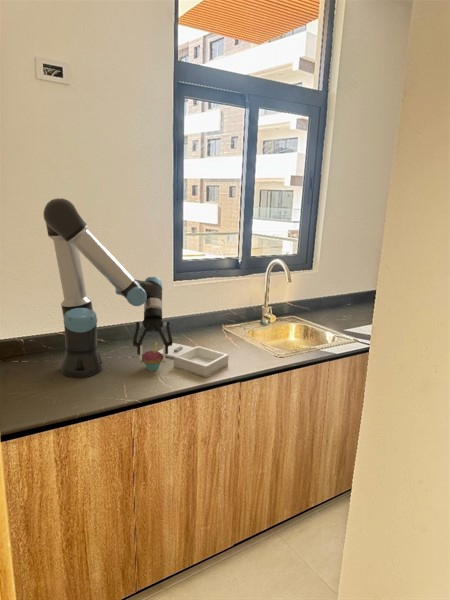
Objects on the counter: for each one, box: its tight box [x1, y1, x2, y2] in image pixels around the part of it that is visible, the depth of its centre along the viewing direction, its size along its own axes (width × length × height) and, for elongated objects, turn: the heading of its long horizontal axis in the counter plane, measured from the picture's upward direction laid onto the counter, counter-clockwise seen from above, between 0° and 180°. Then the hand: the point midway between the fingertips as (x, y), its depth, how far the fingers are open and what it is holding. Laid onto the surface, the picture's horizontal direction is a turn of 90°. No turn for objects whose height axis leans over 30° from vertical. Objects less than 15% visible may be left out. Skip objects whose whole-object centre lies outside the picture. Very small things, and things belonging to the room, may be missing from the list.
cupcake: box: [142, 341, 163, 371], centre depth 164 cm, size 9×8×12 cm
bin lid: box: [157, 342, 195, 359], centre depth 183 cm, size 14×14×2 cm
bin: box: [173, 345, 229, 379], centre depth 169 cm, size 16×16×5 cm
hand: (152, 361), depth 161 cm, fingers closed on cupcake, 8 cm apart
